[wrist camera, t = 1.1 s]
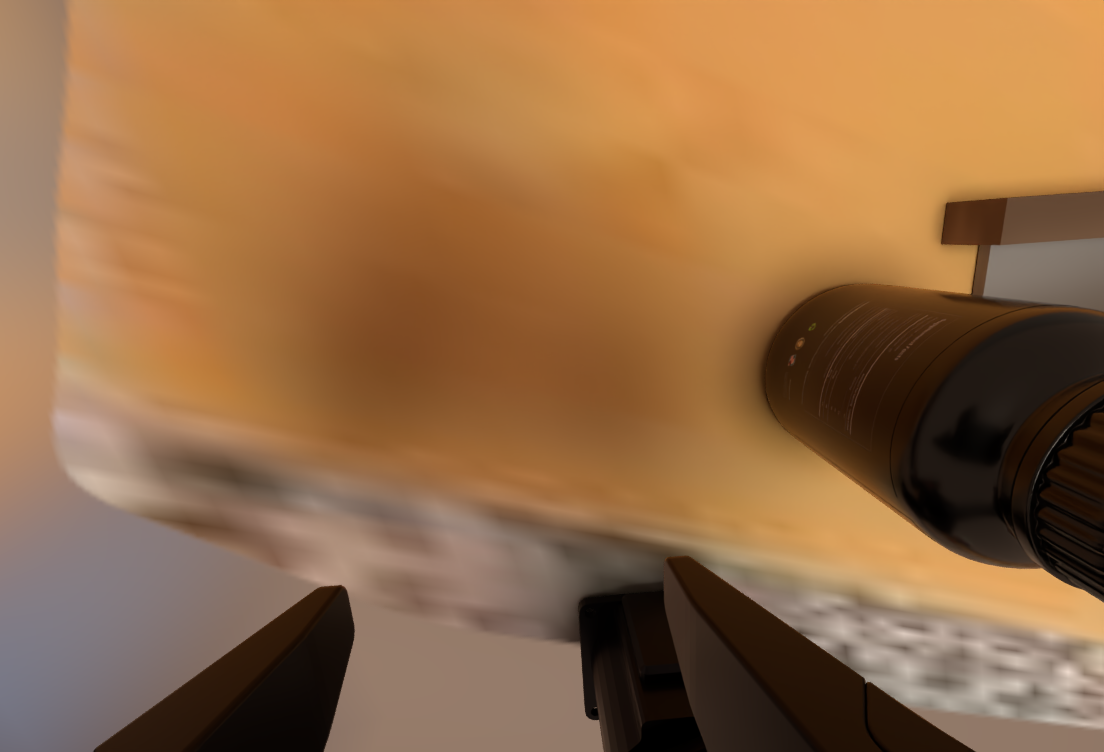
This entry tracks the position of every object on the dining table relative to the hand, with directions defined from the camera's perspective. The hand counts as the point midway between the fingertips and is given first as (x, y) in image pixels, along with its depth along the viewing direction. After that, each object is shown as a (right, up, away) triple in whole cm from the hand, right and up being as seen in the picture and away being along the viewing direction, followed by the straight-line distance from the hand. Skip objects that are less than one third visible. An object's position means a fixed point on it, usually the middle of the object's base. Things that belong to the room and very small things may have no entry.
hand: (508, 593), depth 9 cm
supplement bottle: (+12, +4, +12) cm, 18 cm away
